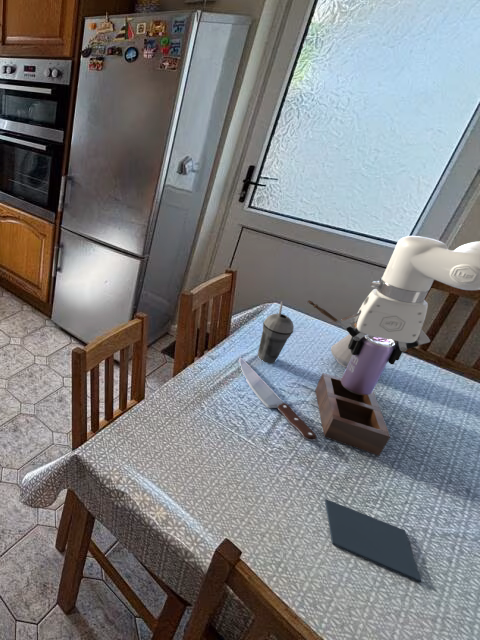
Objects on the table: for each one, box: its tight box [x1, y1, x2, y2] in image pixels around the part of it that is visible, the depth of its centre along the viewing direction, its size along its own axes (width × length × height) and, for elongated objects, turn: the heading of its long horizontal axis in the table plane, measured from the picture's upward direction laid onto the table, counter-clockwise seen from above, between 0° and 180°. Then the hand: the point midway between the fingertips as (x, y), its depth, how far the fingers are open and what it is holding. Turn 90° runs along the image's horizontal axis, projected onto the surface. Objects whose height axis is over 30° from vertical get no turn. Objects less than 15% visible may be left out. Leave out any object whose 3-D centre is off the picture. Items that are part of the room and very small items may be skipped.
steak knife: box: [238, 356, 317, 442], centre depth 111 cm, size 5×31×2 cm, turn 179°
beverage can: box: [341, 334, 396, 395], centre depth 100 cm, size 6×6×15 cm
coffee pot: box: [303, 300, 357, 368], centre depth 123 cm, size 21×12×15 cm, turn 38°
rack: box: [314, 372, 391, 456], centre depth 102 cm, size 18×10×6 cm, turn 148°
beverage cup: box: [257, 301, 295, 364], centre depth 121 cm, size 7×7×20 cm
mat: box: [324, 498, 422, 583], centre depth 78 cm, size 12×10×1 cm
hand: (371, 355), depth 99 cm, fingers closed on beverage can, 6 cm apart
